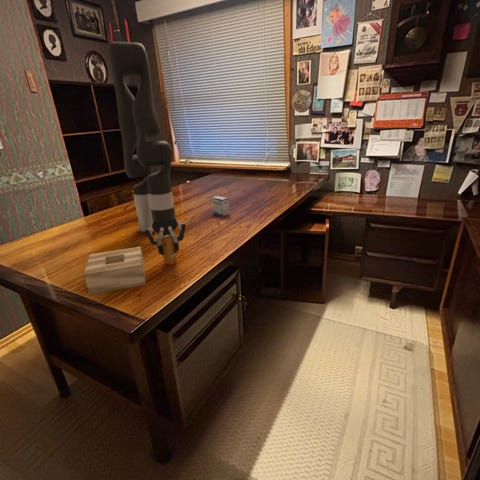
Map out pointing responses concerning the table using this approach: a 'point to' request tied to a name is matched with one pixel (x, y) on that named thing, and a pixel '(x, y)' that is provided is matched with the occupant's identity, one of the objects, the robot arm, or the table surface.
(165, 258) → the supplement box
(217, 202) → the medicine box
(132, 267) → the bore block
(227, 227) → the table surface
